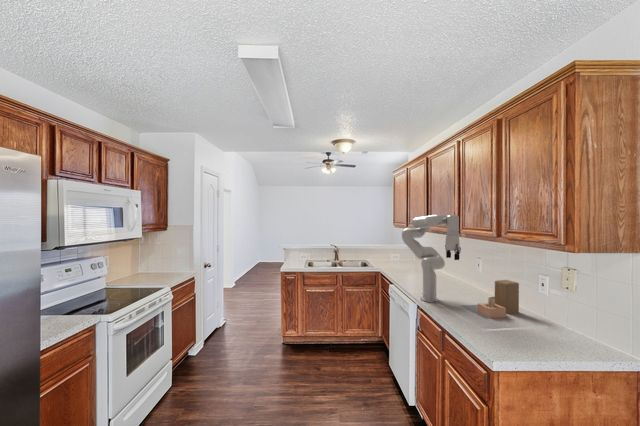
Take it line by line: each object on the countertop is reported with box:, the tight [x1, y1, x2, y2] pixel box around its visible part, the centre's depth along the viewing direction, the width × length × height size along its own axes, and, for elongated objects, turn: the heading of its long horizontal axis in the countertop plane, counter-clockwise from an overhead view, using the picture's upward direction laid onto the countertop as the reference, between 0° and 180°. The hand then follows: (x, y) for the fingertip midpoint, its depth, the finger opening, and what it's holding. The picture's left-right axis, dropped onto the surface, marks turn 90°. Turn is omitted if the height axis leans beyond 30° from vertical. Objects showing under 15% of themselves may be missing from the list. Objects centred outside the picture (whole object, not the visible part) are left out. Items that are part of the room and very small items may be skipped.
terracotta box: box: [477, 302, 507, 319], centre depth 190 cm, size 11×11×6 cm
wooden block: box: [494, 279, 520, 315], centre depth 197 cm, size 10×10×20 cm
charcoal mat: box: [459, 304, 510, 320], centre depth 197 cm, size 26×17×1 cm, turn 8°
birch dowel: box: [487, 295, 495, 308], centre depth 190 cm, size 4×4×10 cm
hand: (452, 258), depth 206 cm, fingers open, 9 cm apart
